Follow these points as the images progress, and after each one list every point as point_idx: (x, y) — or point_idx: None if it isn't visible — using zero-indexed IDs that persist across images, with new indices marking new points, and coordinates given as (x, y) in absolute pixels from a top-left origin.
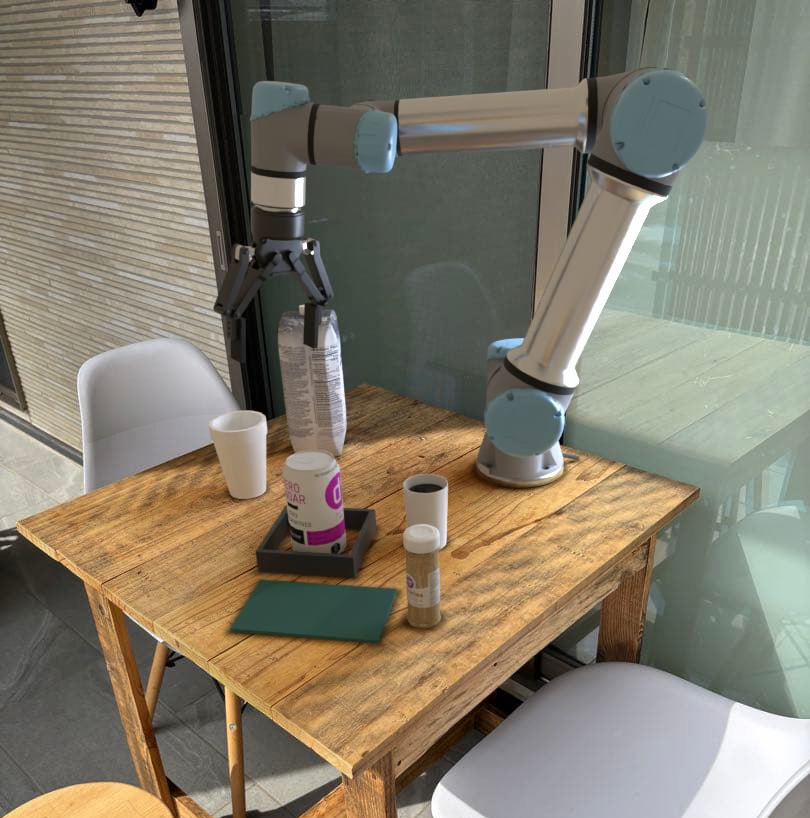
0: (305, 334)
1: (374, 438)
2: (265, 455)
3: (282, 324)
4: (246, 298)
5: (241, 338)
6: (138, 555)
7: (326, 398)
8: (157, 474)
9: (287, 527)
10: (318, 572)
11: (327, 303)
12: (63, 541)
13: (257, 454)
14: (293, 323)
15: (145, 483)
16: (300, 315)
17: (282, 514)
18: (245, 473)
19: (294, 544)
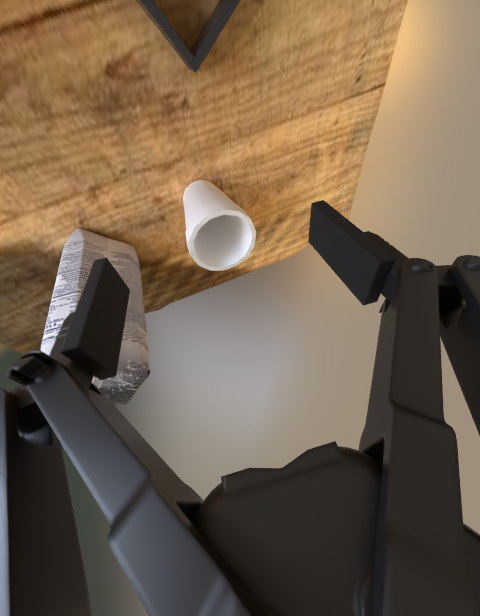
0: (123, 301)
1: (20, 254)
2: (190, 204)
3: (142, 374)
4: (424, 317)
5: (356, 229)
6: (336, 123)
7: (84, 275)
8: (250, 265)
9: (200, 36)
10: None
11: (11, 365)
12: (347, 194)
13: (205, 198)
14: (123, 375)
15: (263, 255)
16: (105, 395)
17: (212, 34)
18: (216, 190)
19: None
